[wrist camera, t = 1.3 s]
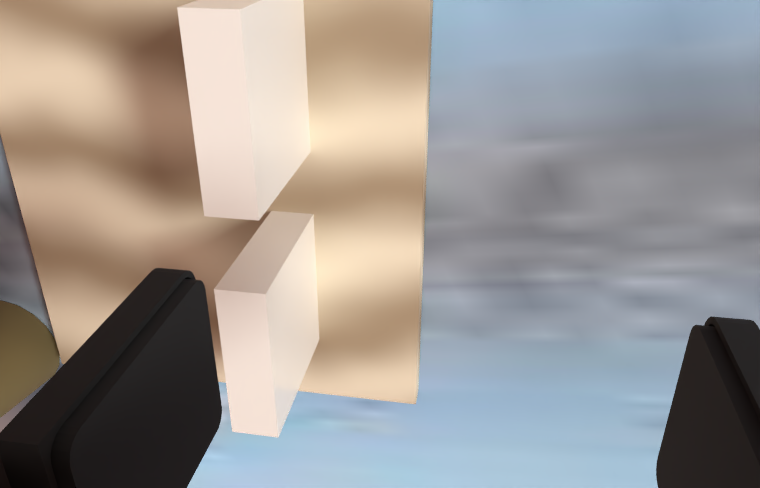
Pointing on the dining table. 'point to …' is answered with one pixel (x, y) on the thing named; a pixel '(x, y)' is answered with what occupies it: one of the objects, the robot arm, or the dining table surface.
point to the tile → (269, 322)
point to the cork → (23, 355)
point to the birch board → (182, 184)
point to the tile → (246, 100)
